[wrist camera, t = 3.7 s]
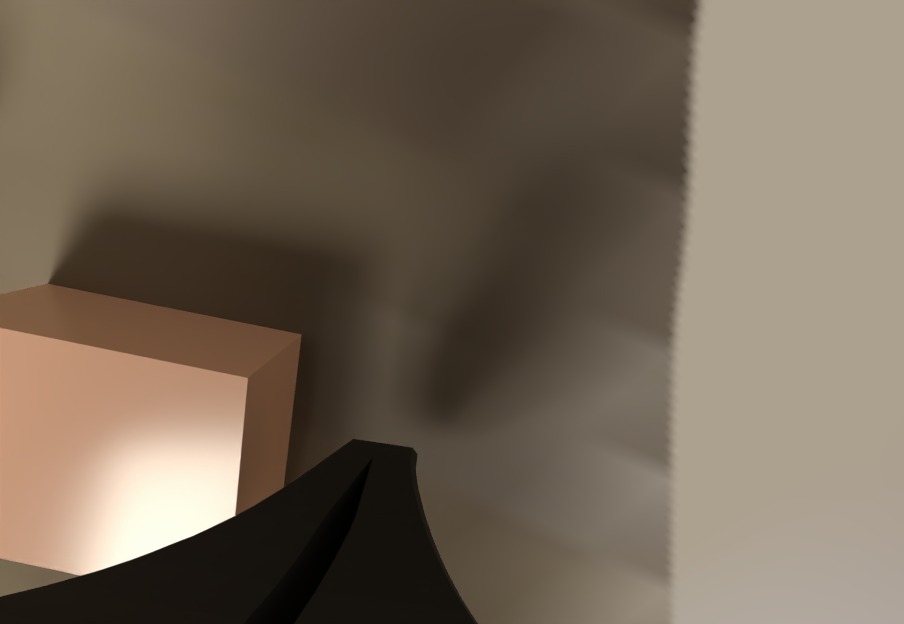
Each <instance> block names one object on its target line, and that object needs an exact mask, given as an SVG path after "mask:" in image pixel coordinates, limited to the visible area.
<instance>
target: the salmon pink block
mask: <svg viewBox="0 0 904 624" xmlns="http://www.w3.org/2000/svg"><path fill="white" fill-rule="evenodd" d="M301 335H302V334H297V333H292V332H287V331H282V330H277V329H272V328H267V327H262V326H257V325H252V324H247V323H242V322H237V321H232V320H227V319H222V318H217V317H212V316H207V315H202V314H197V313H192V312H187V311H182V310H177V309H172V308H167V307H162V306H157V305H152V304H147V303H142V302H137V301H132V300H127V299H122V298H117V297H112V296H107V295H102V294H97V293H92V292H87V291H82V290H77V289H72V288H67V287H62V286H57V285H52V284H45V285H40V286H36V287H32V288H27V289H23V290H19V291H14V292H10V293H6V294H2V295H0V558H1V559H6V560H11V561H15V562H20V563H25V564H29V565H34V566H39V567H43V568H48V569H53V570H57V571H62V572H67V573H71V574H76V575H81V576H82V575H85V574H88V573H92V572H95V571H98V570H102V569H105V568H108V567H111V566H114V565H117V564H120V563H123V562H126V561H129V560H132V559H135V558H137V557H140V556H143V555H145V554H148V553H150V552H153V551H155V550H158V549H161V548H163V547H166V546H168V545H171V544H173V543H176V542H178V541H181V540H183V539H186V538H188V537H191V536H193V535H196V534H198V533H200V532H202V531H205V530H207V529H209V528H211V527H213V526H215V525H217V524H219V523H221V522H223V521H225V520H228V519H230V518H232V517H234V516H235V515H237V514H239V513H241V512H243V511H245V510H247V509H249V508H250V507H252V506H254V505H256V504H258V503H259V502H261V501H262V500H264V499H266V498H267V497H269V496H271V495H272V494H274V493H276V492H277V491H279V490H280V489H282V488H284V480H285V472H286V463H287V455H288V446H289V438H290V429H291V421H292V412H293V404H294V395H295V387H296V378H297V369H298V361H299V352H300V344H301Z"/></svg>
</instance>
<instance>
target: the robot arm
mask: <svg viewBox="0 0 904 624" xmlns="http://www.w3.org/2000/svg"><path fill="white" fill-rule="evenodd" d="M416 462H417V453H416V452H415V450H414V449H413V448H410V447H403V446H397V445H390V444H383V443H376V442H370V441H363V440H356V439H353V440H351V441H350V442H348V443H347V444H346V445H344V446H343V447H341V448H340V449H339V450H337V451H336V452H334V453H333V454H332V455H330V456H329V457H328V458H326V459H325V460H323V461H322V462H321V463H319V464H318V465H317V466H315V467H314V468H312V469H311V470H309V471H308V472H307V473H305V474H304V475H302V476H301V477H299V478H298V479H296V480H295V481H293V482H292V483H290V484H289V485H287V486H285V487H284V488H282V489H280V490H279V491H277V492H276V493H274V494H272V495H271V496H269V497H267V498H266V499H264V500H262V501H261V502H259V503H258V504H256V505H254V506H252V507H250V508H249V509H247V510H245V511H243V512H241V513H239V514H237V515H235V516H234V517H232V518H230V519H228V520H225V521H223V522H221V523H219V524H217V525H215V526H213V527H211V528H209V529H207V530H205V531H202V532H200V533H198V534H196V535H193V536H191V537H188V538H186V539H183V540H181V541H178V542H176V543H173V544H171V545H168V546H166V547H163V548H161V549H158V550H155V551H153V552H150V553H148V554H145V555H143V556H140V557H137V558H135V559H132V560H129V561H126V562H123V563H120V564H117V565H114V566H111V567H108V568H105V569H102V570H98V571H95V572H92V573H88V574H85V575H82V576H78V577H75V578H72V579H69V580H65V581H61V582H58V583H54V584H51V585H47V586H43V587H39V588H35V589H31V590H27V591H23V592H18V593H14V594H10V595H6V596H2V597H0V624H478V623H477V622H476V620H475V619H474V617H473V616H472V614H471V613H470V611H469V609H468V608H467V606H466V605H465V603H464V602H463V600H462V599H461V597H460V595H459V593H458V591H457V589H456V588H455V586H454V584H453V582H452V580H451V578H450V576H449V574H448V572H447V570H446V568H445V566H444V564H443V562H442V560H441V557H440V555H439V553H438V550H437V548H436V545H435V543H434V540H433V538H432V535H431V532H430V529H429V526H428V524H427V520H426V517H425V514H424V510H423V506H422V502H421V498H420V494H419V490H418V485H417V477H416Z"/></svg>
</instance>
